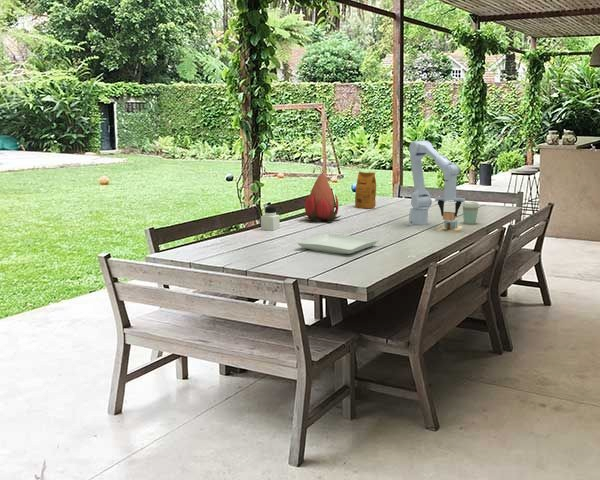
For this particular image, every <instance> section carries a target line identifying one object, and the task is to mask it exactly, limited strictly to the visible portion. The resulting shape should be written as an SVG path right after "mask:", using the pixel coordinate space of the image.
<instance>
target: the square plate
mask: <svg viewBox="0 0 600 480" xmlns="http://www.w3.org/2000/svg"><path fill="white" fill-rule="evenodd" d="M378 242H379V240H378V239H374V238H368V237H362V236H355V235H347V234H336V233H324V234H320V235H316V236H312V237H310V238H306V239H303V240H301V241H298V242H297V244H298V246H300V247H301V248H303V249H308V250H311V251H318V252H324V253H330V254H331V253H333V254H338V255H339V254H341V255H351V254H354V253H357V252H359V251H363V250H364V249H367V248H370V247H373V246H375V245H376V244H377V243H378Z"/></svg>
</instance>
